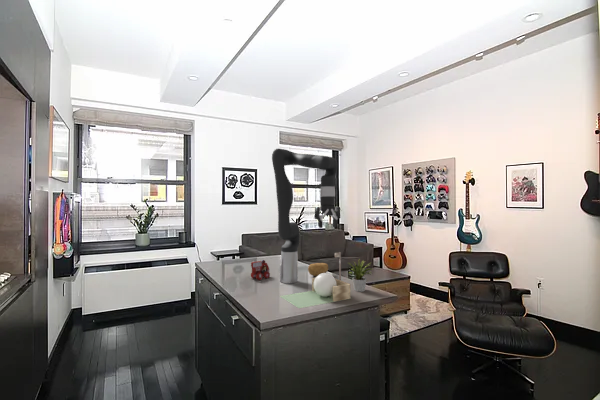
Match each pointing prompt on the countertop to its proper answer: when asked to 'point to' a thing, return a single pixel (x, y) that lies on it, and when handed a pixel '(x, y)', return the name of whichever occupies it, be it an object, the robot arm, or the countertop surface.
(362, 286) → the house plant
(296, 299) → the green mat
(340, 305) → the countertop surface
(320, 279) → the ball
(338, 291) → the wooden u-shaped frame
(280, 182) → the robot arm
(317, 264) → the potato
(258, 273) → the toy fire truck
